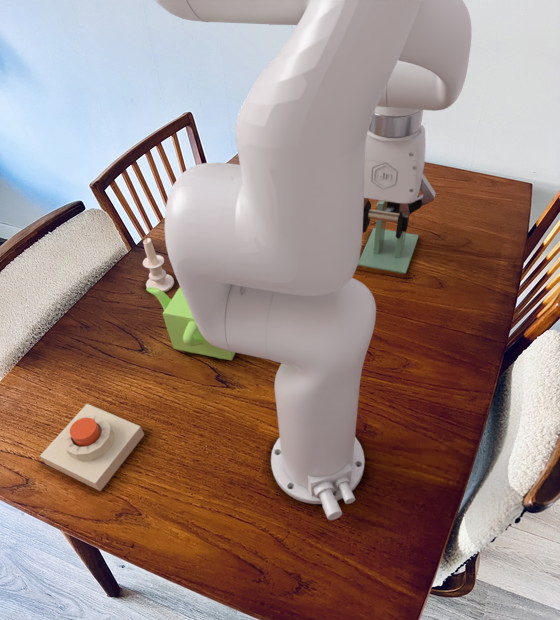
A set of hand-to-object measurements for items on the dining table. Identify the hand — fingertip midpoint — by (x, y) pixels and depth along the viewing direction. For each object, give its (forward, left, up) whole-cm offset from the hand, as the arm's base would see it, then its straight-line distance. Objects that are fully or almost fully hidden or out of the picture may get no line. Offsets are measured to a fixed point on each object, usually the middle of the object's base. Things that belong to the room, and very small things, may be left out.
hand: (382, 229), depth 85 cm
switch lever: (+3, -3, -1) cm, 4 cm away
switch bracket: (+7, -6, -11) cm, 15 cm away
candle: (+15, +37, -12) cm, 42 cm away
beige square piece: (-18, +52, -11) cm, 56 cm away
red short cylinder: (-18, +52, -8) cm, 56 cm away
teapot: (-3, +31, -12) cm, 34 cm away
